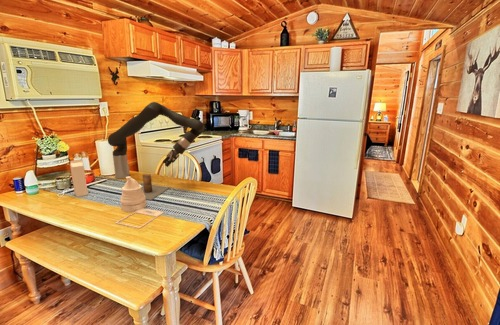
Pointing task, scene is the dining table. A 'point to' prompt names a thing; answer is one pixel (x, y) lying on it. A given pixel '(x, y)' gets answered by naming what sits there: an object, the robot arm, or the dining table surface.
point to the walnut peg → (147, 183)
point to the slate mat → (154, 192)
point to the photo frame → (144, 212)
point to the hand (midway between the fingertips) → (165, 164)
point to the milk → (78, 178)
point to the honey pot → (132, 196)
